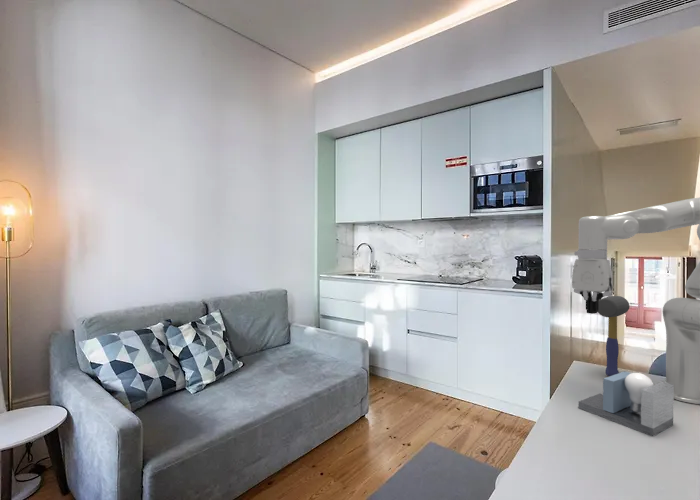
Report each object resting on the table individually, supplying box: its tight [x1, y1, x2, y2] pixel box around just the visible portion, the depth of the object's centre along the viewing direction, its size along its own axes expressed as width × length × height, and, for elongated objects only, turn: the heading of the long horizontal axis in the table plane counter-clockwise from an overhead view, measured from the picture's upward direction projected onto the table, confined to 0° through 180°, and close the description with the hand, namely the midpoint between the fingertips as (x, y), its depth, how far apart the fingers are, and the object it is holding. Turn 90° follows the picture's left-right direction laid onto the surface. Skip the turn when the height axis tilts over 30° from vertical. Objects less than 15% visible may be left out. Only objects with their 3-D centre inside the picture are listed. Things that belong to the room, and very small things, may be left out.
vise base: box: [577, 381, 675, 437], centre depth 101 cm, size 12×18×11 cm, turn 29°
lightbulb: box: [624, 372, 654, 412], centre depth 98 cm, size 6×6×11 cm
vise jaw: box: [602, 371, 632, 413], centre depth 102 cm, size 12×2×9 cm, turn 119°
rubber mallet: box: [597, 295, 630, 377], centre depth 130 cm, size 12×8×30 cm, turn 124°
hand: (591, 312), depth 112 cm, fingers closed
